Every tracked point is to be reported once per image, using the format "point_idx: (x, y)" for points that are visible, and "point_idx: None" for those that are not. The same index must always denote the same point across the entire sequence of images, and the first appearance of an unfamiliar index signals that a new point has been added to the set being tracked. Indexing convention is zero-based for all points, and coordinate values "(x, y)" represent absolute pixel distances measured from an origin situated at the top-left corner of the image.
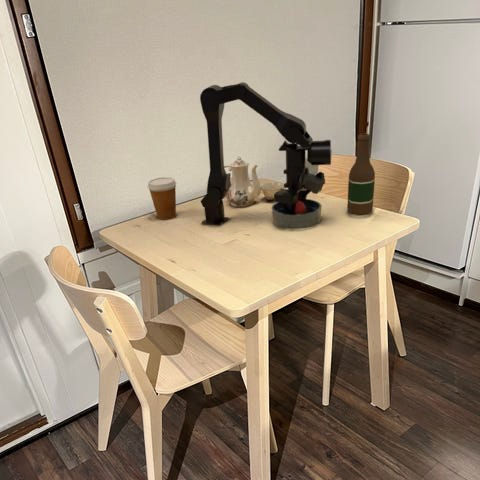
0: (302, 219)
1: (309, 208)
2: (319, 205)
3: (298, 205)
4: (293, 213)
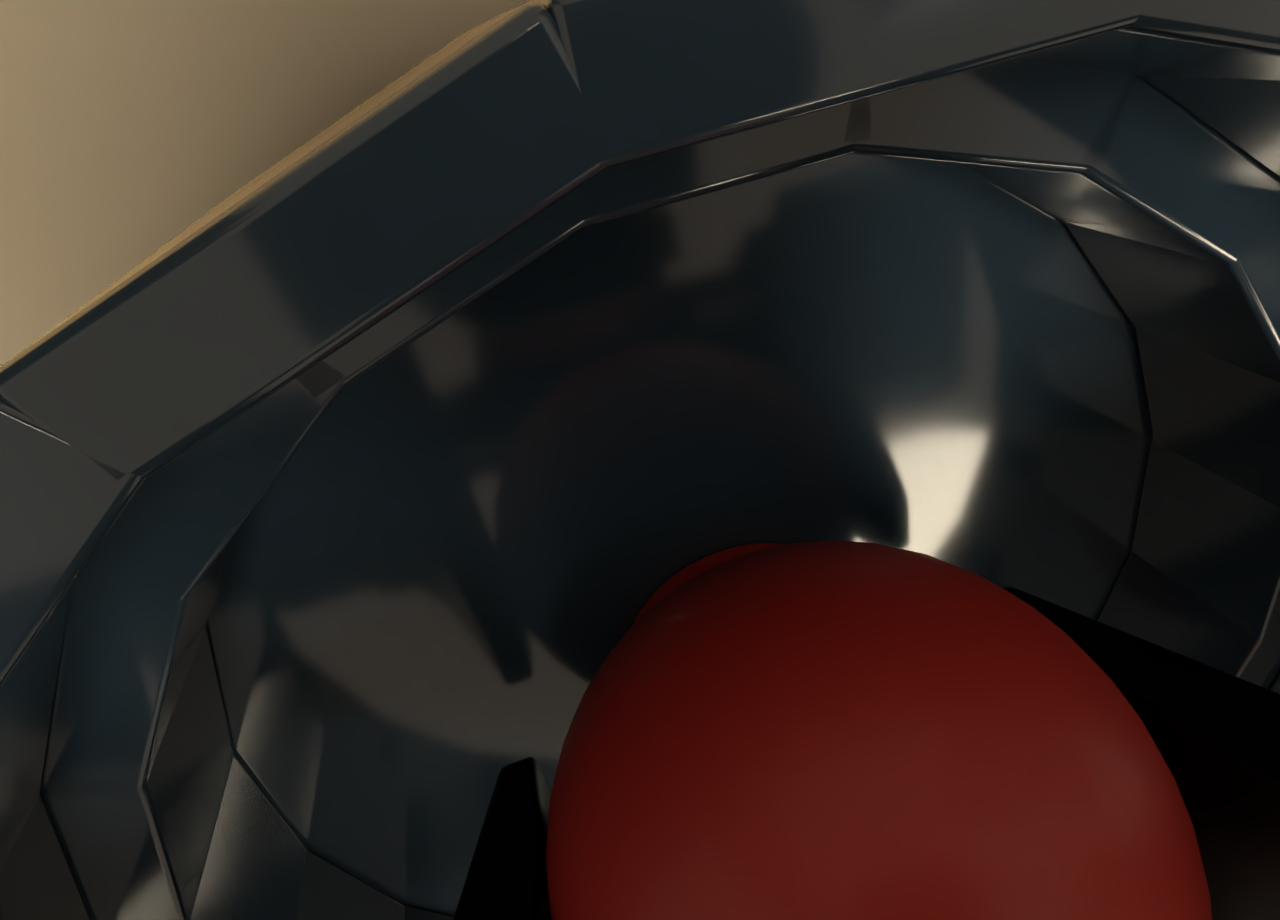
0: None
1: (184, 832)
2: (143, 481)
3: (1179, 917)
4: (1220, 680)
